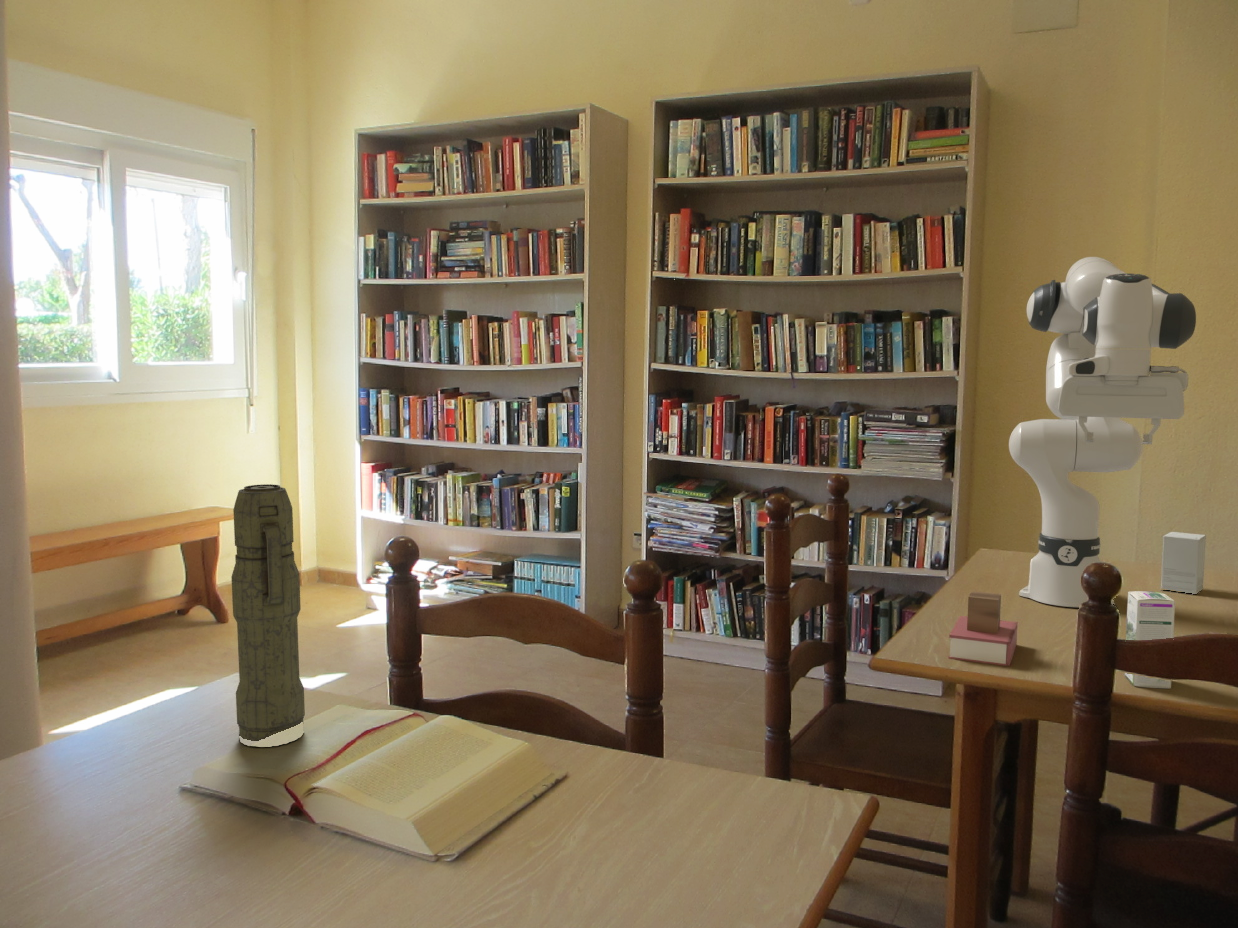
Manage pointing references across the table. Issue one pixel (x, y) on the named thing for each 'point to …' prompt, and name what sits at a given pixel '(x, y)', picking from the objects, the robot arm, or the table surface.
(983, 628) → the walnut block
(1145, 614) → the syrup box
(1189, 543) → the supplement box
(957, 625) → the book
